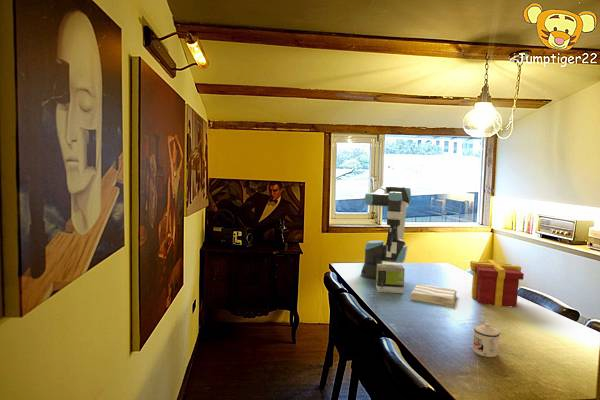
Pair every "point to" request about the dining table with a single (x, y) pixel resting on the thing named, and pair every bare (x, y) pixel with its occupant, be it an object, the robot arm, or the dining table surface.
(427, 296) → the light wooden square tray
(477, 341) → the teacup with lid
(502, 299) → the gift box
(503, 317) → the dining table surface
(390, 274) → the tea box
